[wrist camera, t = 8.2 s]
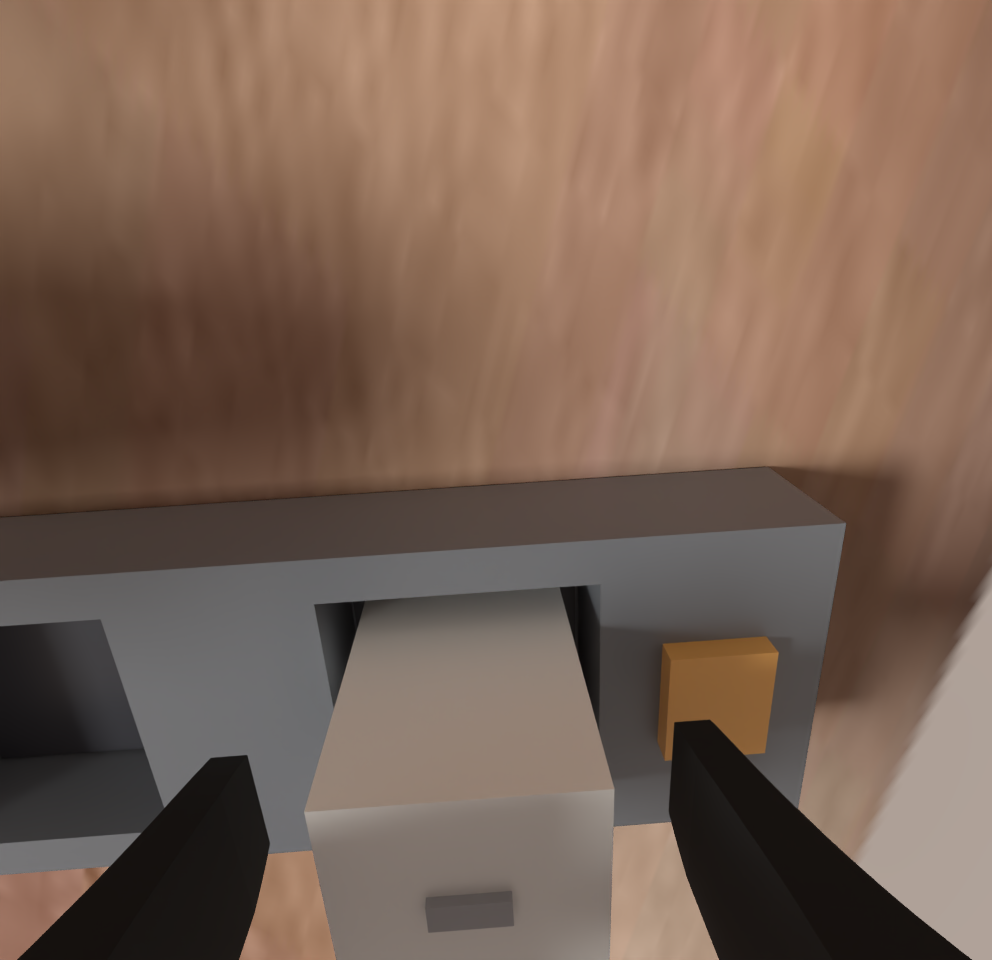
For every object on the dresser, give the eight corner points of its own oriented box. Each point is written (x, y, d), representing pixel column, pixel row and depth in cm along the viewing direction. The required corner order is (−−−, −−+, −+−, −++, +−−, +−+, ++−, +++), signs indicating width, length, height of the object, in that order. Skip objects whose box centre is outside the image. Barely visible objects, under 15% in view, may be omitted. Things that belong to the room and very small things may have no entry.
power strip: (-25, 771, 16) (-154, 909, 12) (-141, 526, 13) (-342, 619, 10) (739, 714, 16) (809, 832, 13) (767, 466, 14) (863, 535, 10)
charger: (392, 719, 15) (345, 1018, 9) (372, 575, 13) (301, 822, 8) (555, 707, 15) (610, 996, 9) (553, 564, 13) (617, 798, 8)
